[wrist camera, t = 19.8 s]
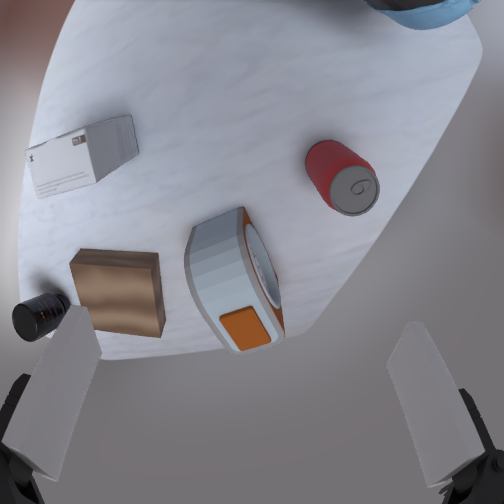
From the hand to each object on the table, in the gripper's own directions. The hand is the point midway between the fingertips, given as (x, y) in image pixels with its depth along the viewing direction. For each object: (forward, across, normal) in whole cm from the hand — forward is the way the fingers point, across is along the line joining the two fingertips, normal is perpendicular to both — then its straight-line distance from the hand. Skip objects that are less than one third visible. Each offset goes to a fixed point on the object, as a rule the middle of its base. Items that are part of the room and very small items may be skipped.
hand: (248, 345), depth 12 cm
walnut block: (+33, -20, -23) cm, 45 cm away
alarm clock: (+33, 0, -16) cm, 37 cm away
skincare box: (+33, -19, +2) cm, 38 cm away
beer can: (+33, +11, 0) cm, 35 cm away
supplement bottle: (+21, -35, -24) cm, 47 cm away
